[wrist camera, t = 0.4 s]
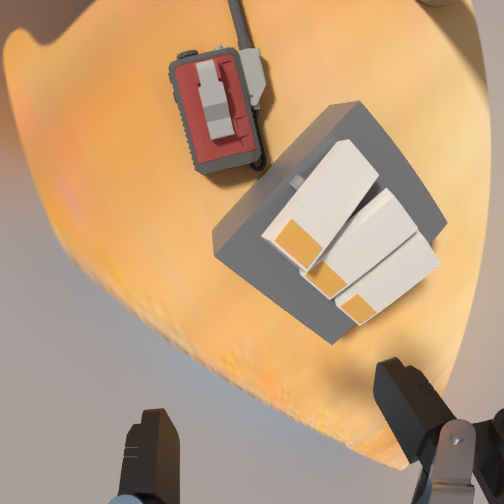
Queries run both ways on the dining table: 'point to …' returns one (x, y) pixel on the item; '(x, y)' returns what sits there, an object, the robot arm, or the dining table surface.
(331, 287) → the rocker
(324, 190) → the white rectangular block
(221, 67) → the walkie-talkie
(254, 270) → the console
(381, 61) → the dining table surface
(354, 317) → the rocker
